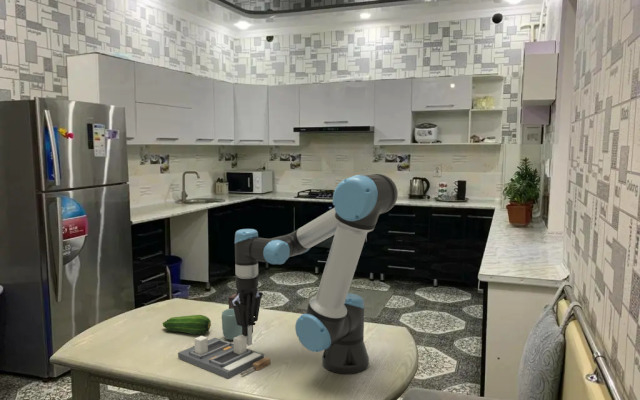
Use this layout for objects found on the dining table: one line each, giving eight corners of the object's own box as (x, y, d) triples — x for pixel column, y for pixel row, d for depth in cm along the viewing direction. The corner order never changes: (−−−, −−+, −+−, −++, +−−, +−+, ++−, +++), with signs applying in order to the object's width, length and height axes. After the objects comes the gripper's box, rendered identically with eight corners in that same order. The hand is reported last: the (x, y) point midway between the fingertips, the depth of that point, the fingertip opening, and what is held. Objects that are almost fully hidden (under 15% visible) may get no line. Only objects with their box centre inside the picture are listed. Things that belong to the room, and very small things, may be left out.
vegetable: (206, 314, 180) (159, 310, 185) (202, 334, 177) (155, 329, 183) (215, 317, 186) (170, 313, 192) (212, 336, 184) (165, 331, 189)
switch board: (264, 360, 160) (264, 352, 160) (228, 378, 148) (227, 370, 147) (215, 342, 175) (214, 335, 174) (178, 358, 162) (178, 350, 162)
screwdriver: (265, 362, 159) (265, 357, 159) (270, 364, 158) (270, 358, 158) (239, 376, 149) (239, 370, 149) (243, 378, 148) (243, 372, 148)
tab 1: (207, 352, 161) (207, 337, 160) (200, 355, 159) (200, 340, 158) (201, 350, 163) (201, 335, 162) (194, 353, 160) (194, 338, 160)
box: (235, 309, 211) (235, 292, 210) (248, 310, 209) (247, 294, 208) (228, 313, 205) (228, 296, 204) (241, 315, 203) (241, 298, 202)
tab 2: (246, 351, 161) (246, 337, 161) (240, 354, 159) (239, 340, 158) (240, 349, 163) (240, 335, 163) (233, 352, 161) (233, 338, 160)
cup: (239, 343, 174) (238, 316, 173) (219, 341, 176) (218, 314, 175) (246, 334, 182) (246, 309, 181) (227, 333, 184) (226, 307, 183)
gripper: (252, 269, 169) (253, 335, 171) (224, 278, 158) (225, 347, 161) (268, 273, 164) (269, 340, 167) (240, 281, 154) (241, 353, 157)
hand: (247, 343), depth 164 cm, fingers closed
